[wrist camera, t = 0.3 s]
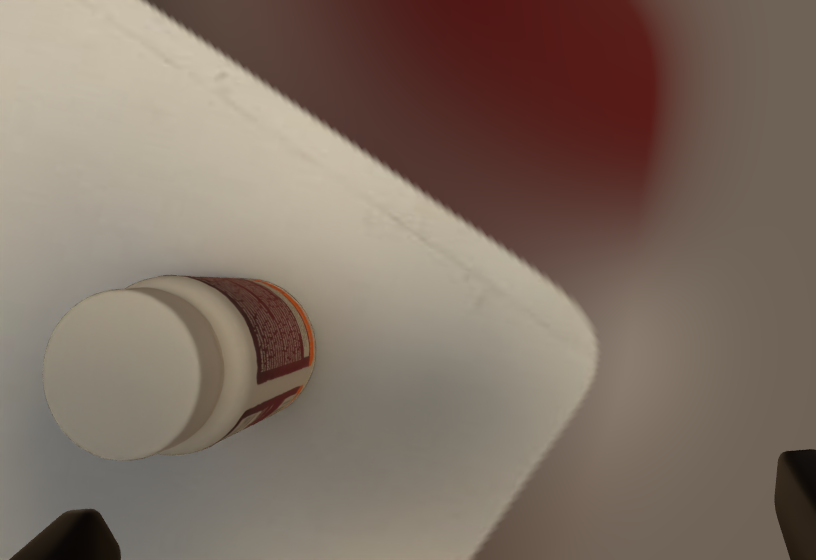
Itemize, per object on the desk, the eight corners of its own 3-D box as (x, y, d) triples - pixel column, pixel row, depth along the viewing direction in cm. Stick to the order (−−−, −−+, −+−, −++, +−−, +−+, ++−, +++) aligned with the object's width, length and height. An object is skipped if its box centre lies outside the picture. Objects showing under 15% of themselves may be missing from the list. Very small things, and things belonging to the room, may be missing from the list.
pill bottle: (209, 261, 26) (58, 245, 18) (336, 303, 25) (242, 308, 17) (168, 391, 26) (0, 437, 18) (293, 437, 25) (180, 507, 17)
